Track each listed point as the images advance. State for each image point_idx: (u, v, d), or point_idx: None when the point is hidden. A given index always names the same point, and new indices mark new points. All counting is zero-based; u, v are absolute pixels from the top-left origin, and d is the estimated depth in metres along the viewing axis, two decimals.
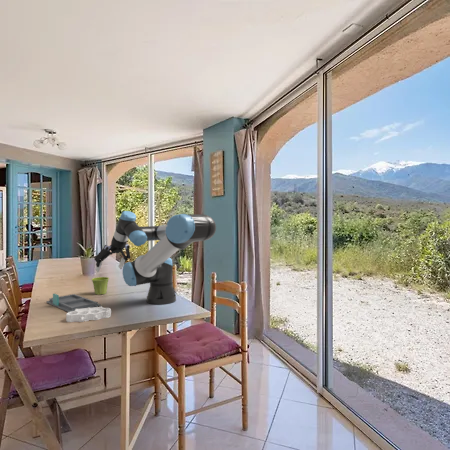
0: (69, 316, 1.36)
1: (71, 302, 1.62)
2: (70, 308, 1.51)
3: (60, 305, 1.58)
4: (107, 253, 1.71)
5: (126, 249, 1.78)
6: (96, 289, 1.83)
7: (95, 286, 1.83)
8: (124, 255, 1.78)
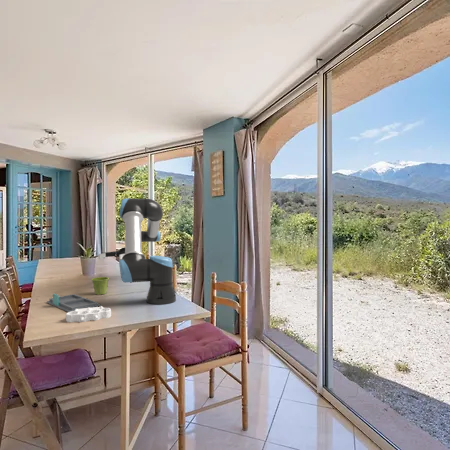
0: (69, 316, 1.36)
1: (71, 302, 1.62)
2: (70, 308, 1.51)
3: (60, 305, 1.58)
4: None
5: None
6: (96, 289, 1.83)
7: (95, 286, 1.83)
8: None
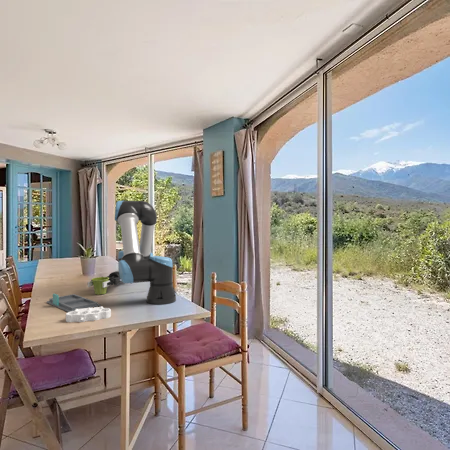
0: (68, 316, 1.36)
1: (71, 302, 1.62)
2: (70, 308, 1.51)
3: (60, 305, 1.58)
4: None
5: None
6: (96, 289, 1.83)
7: (95, 286, 1.83)
8: (112, 279, 1.91)
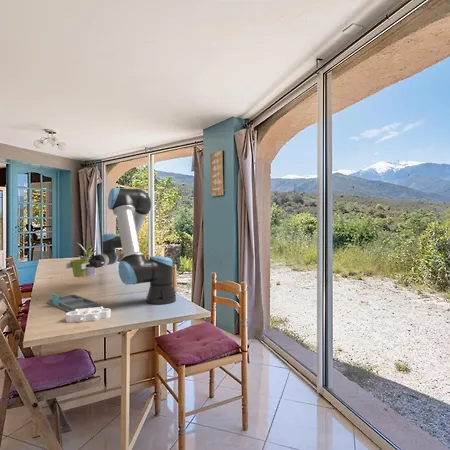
0: (68, 316, 1.36)
1: (71, 302, 1.62)
2: (70, 308, 1.51)
3: (60, 305, 1.58)
4: None
5: None
6: (74, 271, 1.73)
7: (73, 268, 1.73)
8: (93, 261, 1.81)
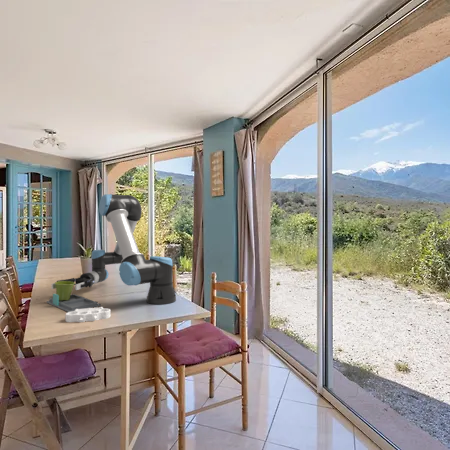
0: (68, 316, 1.36)
1: (71, 302, 1.62)
2: (70, 308, 1.51)
3: (60, 305, 1.58)
4: None
5: (90, 281, 1.78)
6: (58, 294, 1.66)
7: (57, 290, 1.66)
8: (85, 281, 1.74)
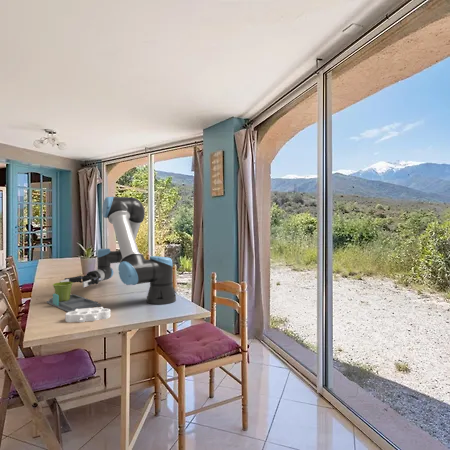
0: (68, 316, 1.36)
1: (71, 302, 1.62)
2: (70, 308, 1.51)
3: (60, 305, 1.58)
4: None
5: (96, 279, 1.84)
6: None
7: (56, 292, 1.65)
8: (92, 278, 1.81)
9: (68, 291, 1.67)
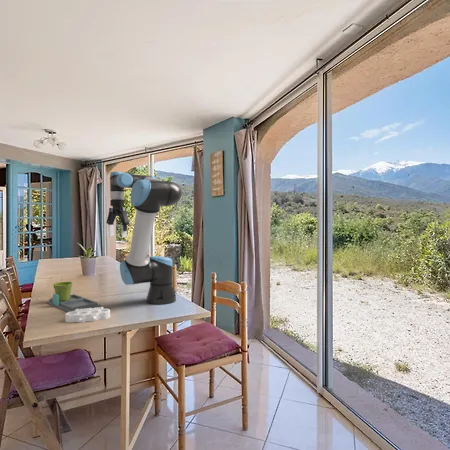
0: (67, 316, 1.36)
1: (71, 302, 1.62)
2: (70, 308, 1.51)
3: (60, 305, 1.58)
4: None
5: None
6: None
7: (56, 292, 1.65)
8: (120, 218, 1.81)
9: (68, 291, 1.67)
